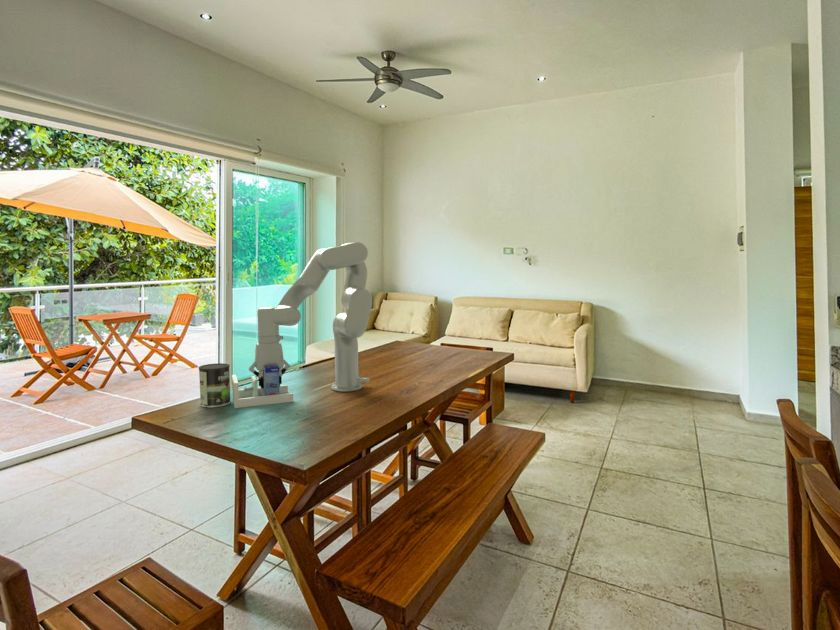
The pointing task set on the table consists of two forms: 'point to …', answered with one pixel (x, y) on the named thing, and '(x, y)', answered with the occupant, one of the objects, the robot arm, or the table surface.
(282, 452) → the table surface
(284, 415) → the table surface
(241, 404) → the lane
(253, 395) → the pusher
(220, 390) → the coffee can
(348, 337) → the robot arm
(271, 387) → the ink cartridge box
